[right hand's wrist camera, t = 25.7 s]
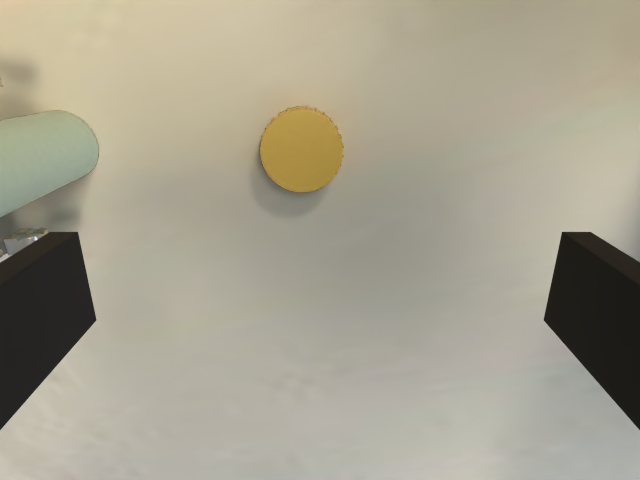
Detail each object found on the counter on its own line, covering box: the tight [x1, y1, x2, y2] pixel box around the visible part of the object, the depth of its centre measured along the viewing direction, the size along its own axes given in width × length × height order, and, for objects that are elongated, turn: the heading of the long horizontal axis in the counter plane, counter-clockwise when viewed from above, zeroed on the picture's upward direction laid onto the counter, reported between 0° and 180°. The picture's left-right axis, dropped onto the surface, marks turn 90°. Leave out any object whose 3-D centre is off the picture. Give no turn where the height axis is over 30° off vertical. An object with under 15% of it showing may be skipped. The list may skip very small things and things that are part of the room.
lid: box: [260, 106, 344, 192], centre depth 30 cm, size 6×6×2 cm
